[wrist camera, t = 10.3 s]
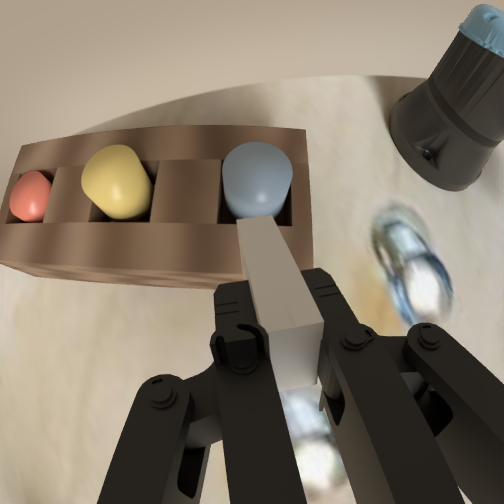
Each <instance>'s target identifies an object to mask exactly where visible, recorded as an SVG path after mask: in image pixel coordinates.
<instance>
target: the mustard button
mask: <svg viewBox="0 0 504 504" xmlns="http://www.w3.org/2000/svg"><path fill="white" fill-rule="evenodd" d="M81 184H82V188H83V191H84V193H85V194H86V195H87V196H88V197H89V198H90V199H91V200H92V201H93V202H94V203H95V204H96V205H97V206H98V207H99V208H100V209H101V210H102V211H103V212H104V213H105V214H107V215H108V216H109V217H110V218H111V219H112V220H113V221H115V222H137V221H139V220H140V219H142V218H143V217H144V216H145V215H146V214H147V213H148V212H149V211H150V209H151V207H152V203H153V197H154V187H153V184H152V183H151V181H150V179H149V177H148V175H147V174H146V172H145V170H144V168H143V166H142V164H141V163H140V161H139V159H138V157H137V155H136V153H135V152H134V151H133V150H132V149H131V148H130V147H128V146H125V145H111V146H108V147H105V148H103V149H101V150H100V151H98V152H97V153H96V154H94V155H93V156H92V157H91V159H90V160H89V161H88V162H87V164H86V166H85V168H84V170H83V173H82V178H81Z"/></svg>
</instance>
